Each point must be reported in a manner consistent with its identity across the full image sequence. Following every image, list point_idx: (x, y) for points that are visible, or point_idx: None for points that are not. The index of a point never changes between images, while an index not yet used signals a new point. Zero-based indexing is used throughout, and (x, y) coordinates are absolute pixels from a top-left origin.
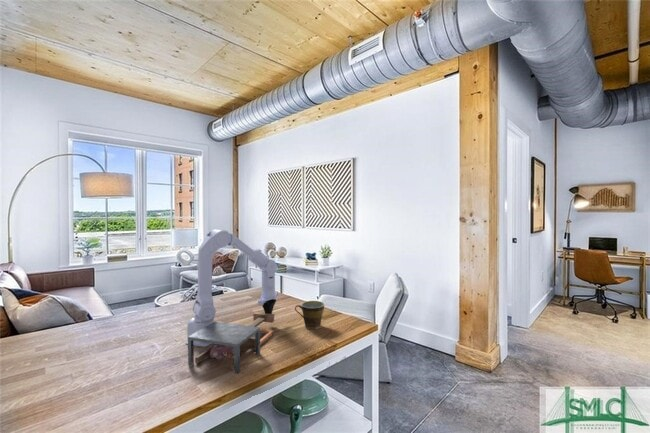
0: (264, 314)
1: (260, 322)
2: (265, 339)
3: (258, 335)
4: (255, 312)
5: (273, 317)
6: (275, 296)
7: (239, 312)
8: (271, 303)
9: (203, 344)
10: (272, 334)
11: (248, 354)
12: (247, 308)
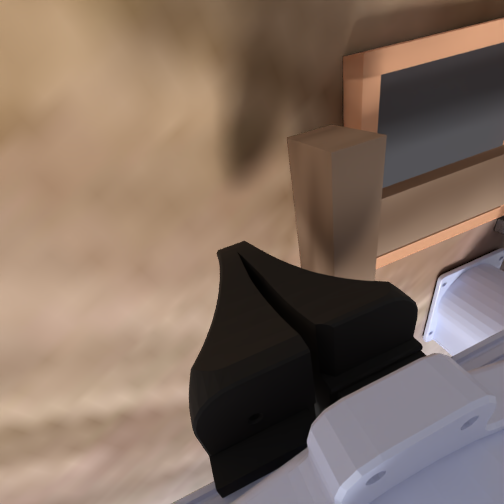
0: (368, 242)
1: (439, 174)
2: (463, 27)
3: None
4: None
5: (332, 139)
6: (408, 465)
7: (171, 462)
8: (400, 295)
9: (495, 266)
10: (359, 52)
11: None
12: (98, 494)
